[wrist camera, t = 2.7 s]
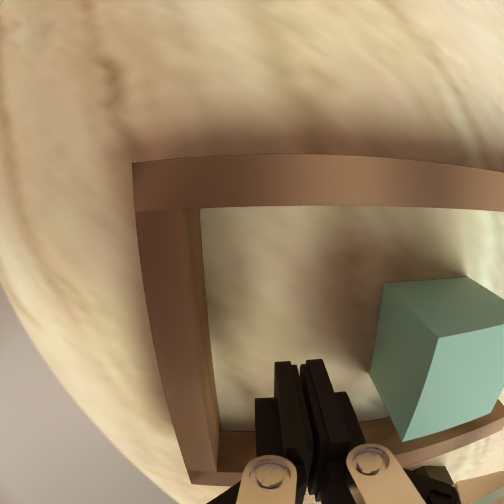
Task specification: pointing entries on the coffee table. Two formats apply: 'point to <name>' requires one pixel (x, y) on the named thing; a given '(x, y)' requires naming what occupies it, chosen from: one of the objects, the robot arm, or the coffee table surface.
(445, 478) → the wine bottle
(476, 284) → the teal block
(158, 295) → the frame
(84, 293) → the coffee table surface
